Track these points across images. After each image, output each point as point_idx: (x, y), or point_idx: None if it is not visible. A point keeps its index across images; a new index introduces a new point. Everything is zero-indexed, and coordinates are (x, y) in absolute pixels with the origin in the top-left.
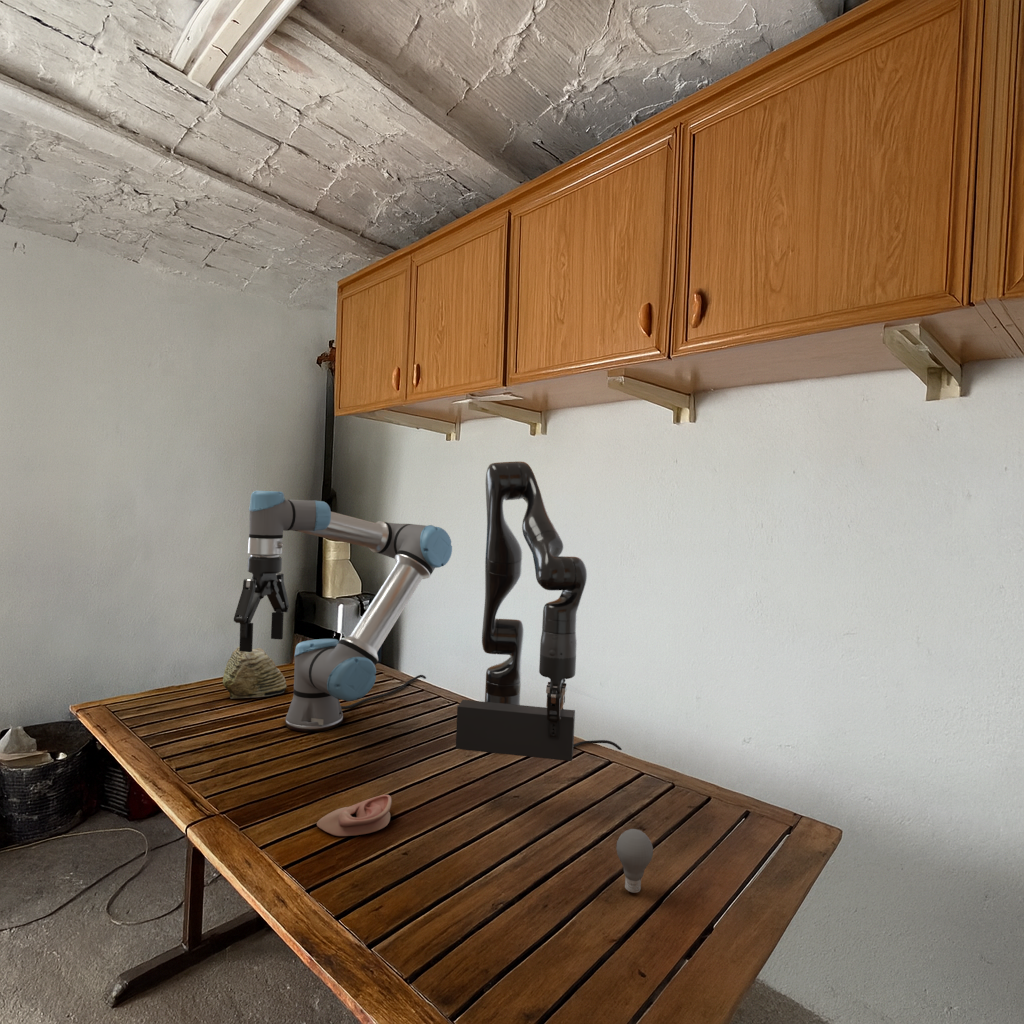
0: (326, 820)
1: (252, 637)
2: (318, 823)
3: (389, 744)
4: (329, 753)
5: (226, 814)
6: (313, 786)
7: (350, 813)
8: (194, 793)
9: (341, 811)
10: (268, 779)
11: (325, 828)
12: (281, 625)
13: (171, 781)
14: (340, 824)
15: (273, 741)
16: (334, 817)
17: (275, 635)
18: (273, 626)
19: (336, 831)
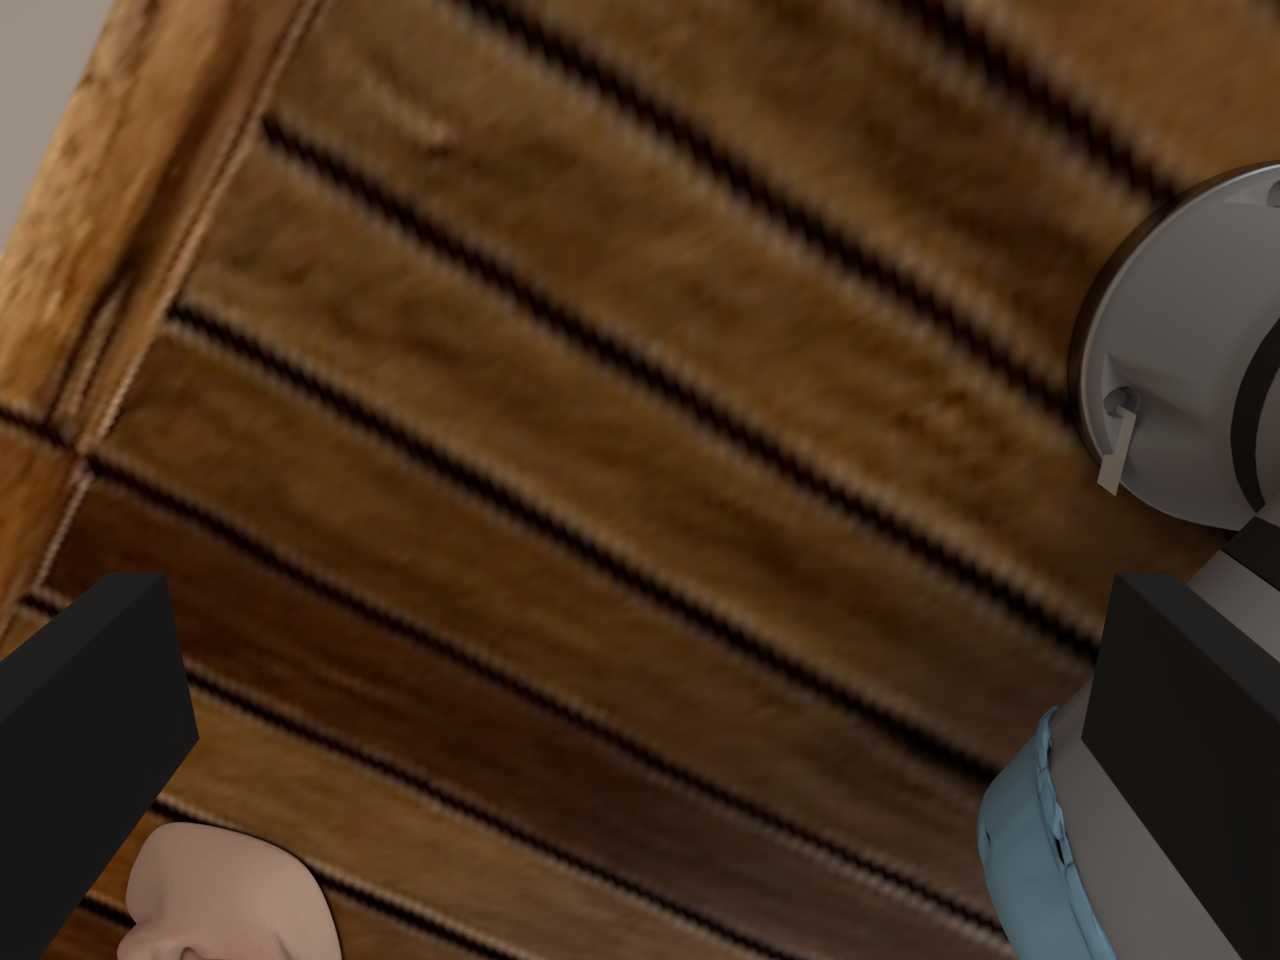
0: (158, 869)
1: (63, 915)
2: (154, 837)
3: (956, 814)
4: (797, 612)
5: (90, 487)
6: (443, 688)
7: (190, 947)
8: (184, 229)
9: (181, 924)
10: (440, 482)
11: (135, 868)
12: (1229, 933)
13: (244, 7)
14: (128, 932)
15: (904, 256)
16: (162, 900)
17: (1129, 686)
18: (1250, 751)
19: (130, 906)
